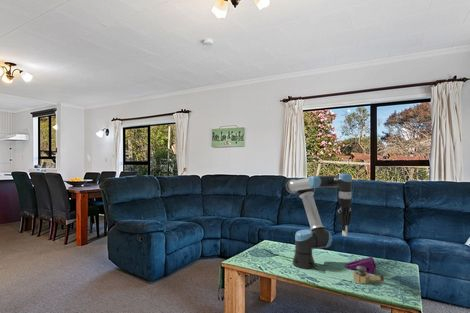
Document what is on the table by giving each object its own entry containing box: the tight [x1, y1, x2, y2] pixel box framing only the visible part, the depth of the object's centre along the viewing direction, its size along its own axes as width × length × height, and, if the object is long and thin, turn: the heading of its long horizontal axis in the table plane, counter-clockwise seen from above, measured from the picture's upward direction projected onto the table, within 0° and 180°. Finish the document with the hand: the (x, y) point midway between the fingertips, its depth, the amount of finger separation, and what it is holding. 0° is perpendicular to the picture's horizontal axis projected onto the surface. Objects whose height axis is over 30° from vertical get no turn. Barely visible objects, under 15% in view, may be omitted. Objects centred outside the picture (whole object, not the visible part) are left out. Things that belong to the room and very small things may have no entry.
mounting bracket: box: [344, 256, 377, 275], centre depth 186 cm, size 9×8×18 cm
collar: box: [353, 270, 385, 284], centre depth 168 cm, size 16×8×5 cm, turn 77°
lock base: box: [356, 266, 384, 285], centre depth 169 cm, size 28×14×9 cm, turn 76°
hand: (344, 235), depth 176 cm, fingers closed
